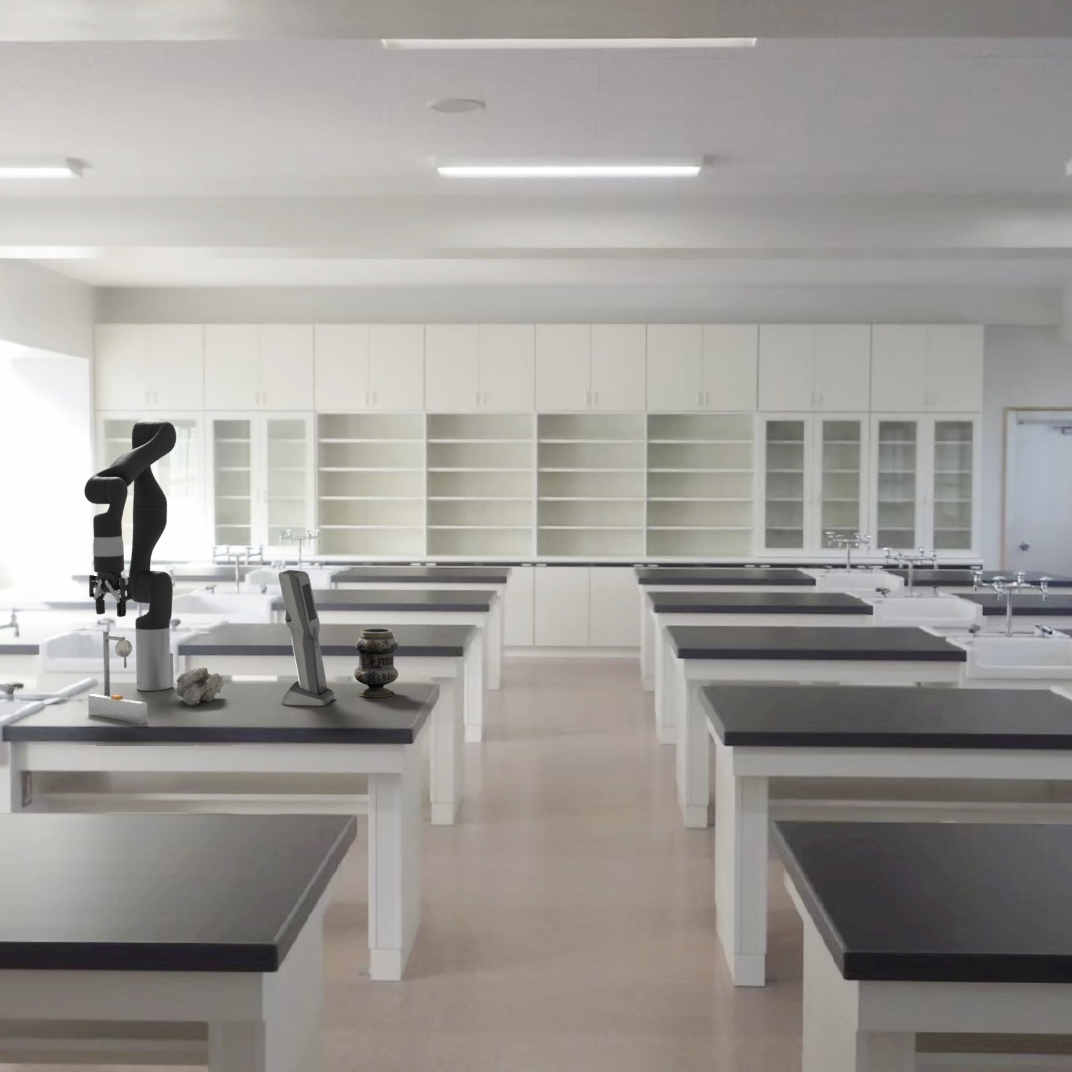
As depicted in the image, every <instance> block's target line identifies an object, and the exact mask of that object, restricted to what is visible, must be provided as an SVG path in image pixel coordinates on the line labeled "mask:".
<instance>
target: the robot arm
mask: <svg viewBox="0 0 1072 1072" xmlns="http://www.w3.org/2000/svg"><path fill="white" fill-rule="evenodd" d="M131 431H132V434H131V449H130V450H129V451H127V452H125V453H123V454H122V455H120V456H119V457H117V458H116V459H115V461H113V463H111V465H110V466H108V467H107V468H105V469H103V470H101V471H99V472H97V473H96V474H93V475H92V476H91V477H90V478H89V479H88V480H87V481H86V483H85V486H84V490H83V491H84V496H85V498H86V500H87V501H88V502H89V503H91V504H94V505H109V507H108V509H107V511H106V512H102V513H98V514H96V515H94V517H93V520H92V522H93V524H92V525H93V545H92V550H93V551H92V553H93V571H94V572H95V574H94V573H93V574H89V576H88V578H89V579H88V582H89V583H88V584H89V585H88V588H89V589H88V593H89V595H88V597H90V598H93V600H94V601H95V612H96V614H97V615H103V614H105V613H106V603H105V600H106V599H105V597H106V595H107V594H111V596H113V597H114V599H115V600H116V616H117V617H119V618H122V617H126V615H127V601H133V602H134V603H137V604H138V603H139V604H140V603H141V604H149V607H148V611H147V612H146V613H145V614H143V615H140V616H138V617H136V619H135V622H134V623H135V624H134V625H135V626H134V627H135V665H136V667H135V669H136V670H135V671H136V675H135V677H136V678H135V679H136V690H138V691H146V692H147V691H151V692H153V691H162V690H163V691H164V690H168V689H170V688H173V687H174V685H175V684H174V682H175V681H174V653H172V652H171V632H170V631H171V630H170V627H171V625H170V622H171V619H172V614H173V596H174V594H173V593H174V592H173V588H174V587H173V581H172V578H171V576H170V574H169V573H168V572H166V571H163V570H162V571H161V570H151V562H152V555H153V551H154V549H155V547H156V545H157V543H158V542H159V540H160V538H161V537H162V534H164V531H165V529H166V526H167V524H168V523H167V522H168V501H167V497H166V495H165V493H164V491H163V488H162V487H161V486H160V484H159V483H158V481H157V479H156V477H155V475H154V473H153V470H152V465H153V464H154V463H156V462H157V461H159V460H160V459H161V458H163V457H164V456H166V455H168V454H169V453H170V452H171V451H172V450H174V448H175V446H176V443H177V432H176V429H175V426H174V425H173V423H171V422H169V421H165V420H137V421H136V422H135V424H134V425H133V428H132V430H131ZM131 484H133V496H132V497H133V499H132V502H133V503H132V540H131V541H132V542H131V543H132V544H131V557H130V564H129V565H130V566H129V573H128V576H125V577H123V576H122V572H123V571H125V550H124V549H125V548H124V547H125V546H124V539H123V527H122V526H123V525H122V524H123V523H122V521H123V515H124V512H125V507H126V503H127V499H128V498H127V497H128V494H129V491H128V488H129V486H131ZM94 589H95V590H94Z"/></svg>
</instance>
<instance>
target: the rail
mask: <svg viewBox="0 0 1072 1072" xmlns="http://www.w3.org/2000/svg"><path fill="white" fill-rule="evenodd" d="M87 695H88V697H87V701H88V705H87V706H88V716H89V715H90V716H93V715H97V716H96V717H99V716H103V717H102V718H105V717H108V718H107V719H110V718H113V719H112V720H116V719H117V720H116V721H121V720H123V722H127V721H128V723H132V722H133V724H139V725H143V724H147V723H148V715H147V714H148V710H147V709H148V706H147V702H144V701H140V700H133V699H128V698H127V699H126V698H124V697H123V696H124V695H121V694H112V695H110V697H109V696H104V695H103V694H96V693H93V694H87Z"/></svg>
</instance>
